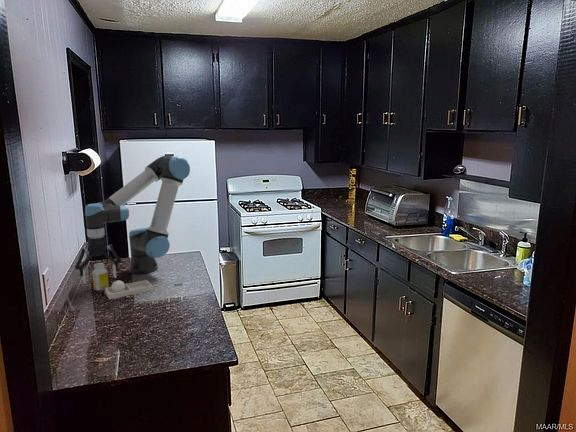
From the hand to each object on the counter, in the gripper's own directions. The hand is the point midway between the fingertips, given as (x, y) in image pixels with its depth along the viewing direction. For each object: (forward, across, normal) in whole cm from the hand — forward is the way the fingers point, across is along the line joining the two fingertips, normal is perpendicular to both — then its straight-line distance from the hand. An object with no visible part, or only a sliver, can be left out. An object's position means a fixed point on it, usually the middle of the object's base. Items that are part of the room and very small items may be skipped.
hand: (100, 279), depth 202 cm
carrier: (+5, +10, -12) cm, 17 cm away
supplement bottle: (+5, 0, 0) cm, 5 cm away
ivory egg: (+4, +6, -12) cm, 14 cm away
